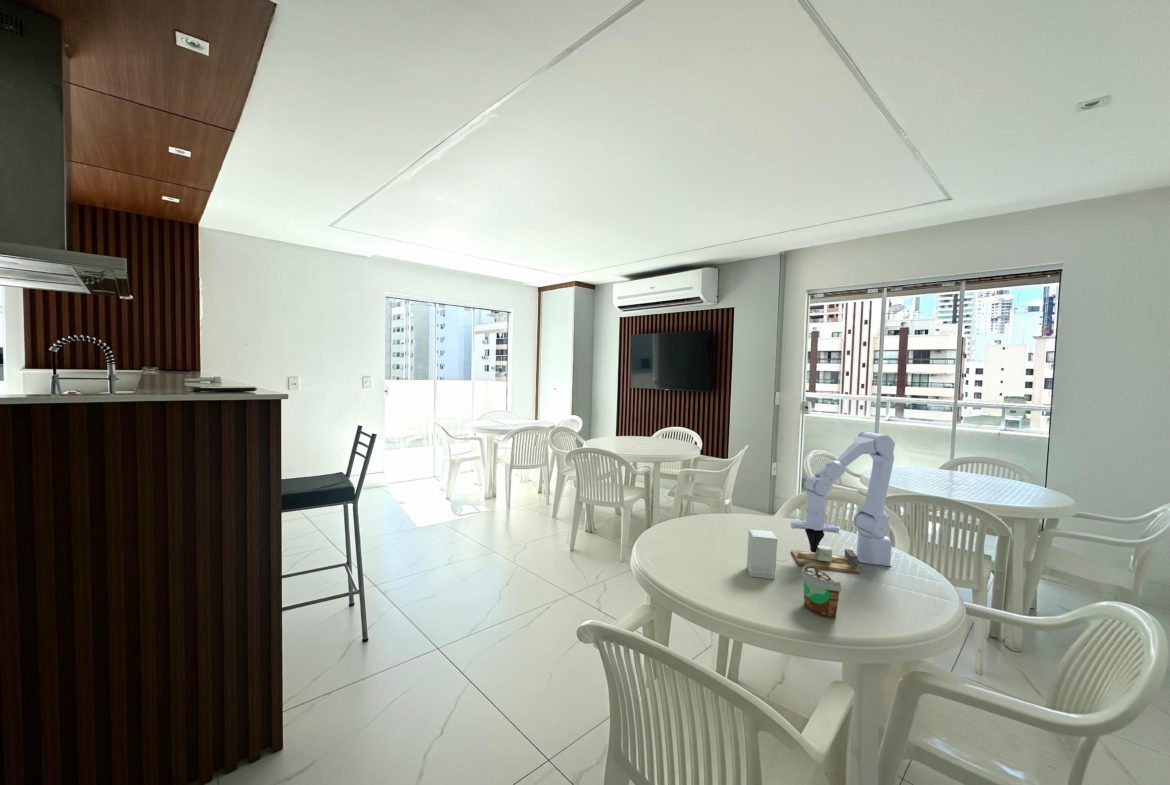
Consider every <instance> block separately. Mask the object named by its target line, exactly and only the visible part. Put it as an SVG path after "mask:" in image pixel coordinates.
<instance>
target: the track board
mask: <svg viewBox="0 0 1170 785" xmlns="http://www.w3.org/2000/svg"><path fill="white" fill-rule="evenodd" d="M855 553H856V552H854V551H853V550H852V549H847V548H845V549H844V555H838V554H832V562H828V561H820V560H818V559H817V557H818V554H816V553H814V552H811V551H808V550H799V549H797V550H796V549H791V554H792V556H793V558H794V560H795V561H796V564H797V565H798V567H802V568H804V566H805V565H807V564H812V563H814V567H815V568H816V569H818V570H824V571H825V570H827V571H832V572H833V571H834V572H841V573H849V574H857V575H861V570H860V569H859V568H858V560H857V559H858V556H857V555H856V554H855Z"/></svg>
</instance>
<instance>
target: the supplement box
mask: <svg viewBox="0 0 1170 785" xmlns="http://www.w3.org/2000/svg"><path fill="white" fill-rule="evenodd" d="M747 538H748V540H747V558H746V560H747V561H746V569H747V571H748V573H749V576H750V577H753V578H754V577H755V578H762V579H770V580H775V578H776V567H777V552H778V551H777V548H778V538H777V536H776V535H775V534H774V531H772V530H771V531H770V530H761V529H751V528H750V529H748V537H747Z"/></svg>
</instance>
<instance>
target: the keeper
mask: <svg viewBox="0 0 1170 785" xmlns="http://www.w3.org/2000/svg"><path fill="white" fill-rule="evenodd" d="M816 554H818V557H817V559H818V560H820V561H828V562H832V555H833V549H832V548H831V547H830V545H827V544H820V543H819V545H818V547H817V550H816Z"/></svg>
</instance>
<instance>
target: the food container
mask: <svg viewBox="0 0 1170 785" xmlns="http://www.w3.org/2000/svg"><path fill="white" fill-rule="evenodd" d="M800 577H801V578H802V579H803V604H804V605H803V606H804V607H805V609H806V610H807V611H809V612H810V613H812V614H814V615H816V616H819V617H821V618H825V619H836V618H837V613H838V612H837V610H838V604H839V596H840V592H842V585H841V582H840V581H834V580H833V579H832V578H831V577H829V575H827V574H826V573H825V572H822V571H820V569H817V568H815V567H814V563H812V564H807V565H805V566H804V567H802V569H801V572H800Z"/></svg>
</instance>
